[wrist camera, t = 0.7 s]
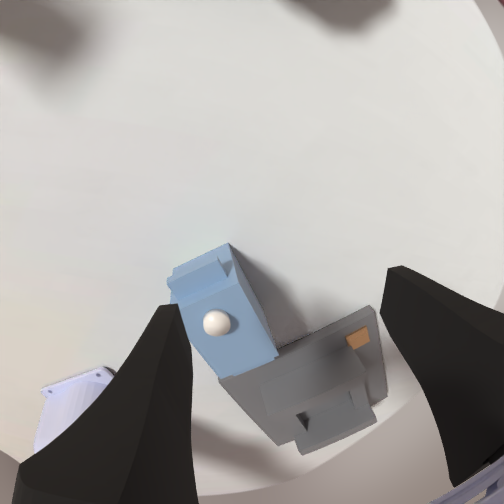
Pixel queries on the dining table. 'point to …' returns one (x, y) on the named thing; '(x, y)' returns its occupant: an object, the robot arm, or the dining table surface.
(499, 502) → the robot arm
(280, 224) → the dining table surface
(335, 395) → the board
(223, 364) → the block
